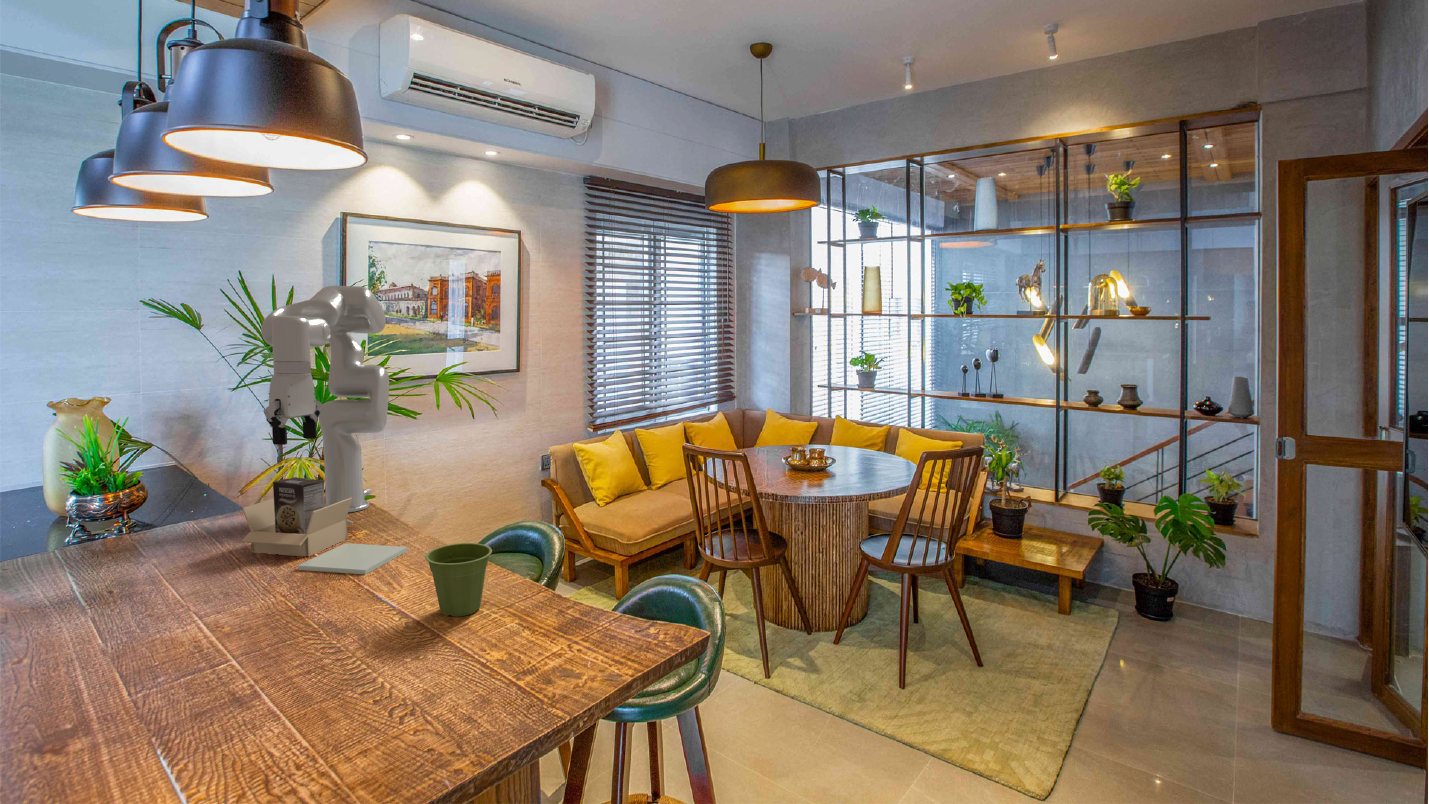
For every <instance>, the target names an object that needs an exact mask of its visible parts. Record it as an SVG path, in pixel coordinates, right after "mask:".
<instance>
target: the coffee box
mask: <svg viewBox="0 0 1429 804" xmlns="http://www.w3.org/2000/svg"><path fill="white" fill-rule="evenodd" d="M324 485H325V484H324V480H323V479H321V480H320V479H314V478H304V477H297V476H295V477H290V478H283V479H280V480H279V479H278V480H276V481H272V486H273V487H272V489H273V490H272V491H273V498H274V512H275V532H276V533H292V534H306V532H307V529H308V525H309V522H310V519H311V515H312V512H313V511H316V510H319V509H321V508H324V504H325V493H324V492H325V491H324V489H325V487H324Z"/></svg>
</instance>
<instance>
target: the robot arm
mask: <svg viewBox="0 0 1429 804" xmlns="http://www.w3.org/2000/svg"><path fill="white" fill-rule="evenodd" d="M386 322H387V321H386V314H385V311H384V309H383V307H382V306H381V303H380V302H379V300H378V298H377V297H376V295H375V294H374V293H373V291H371V290H370V289H369V288H367V287H364V286H359V285H358V286H356V285H355V286H352V285H351V286H350V285H330V286H329V285H328V286H325V287H323V288H321V289H320V290H319V291H318V292H316V294H314V295H313V296H312V297H311V298H310V299H307V300H303V301H299V302H296V303H295V302H294V303H291V304H286V305H283V306H281V307H278V308H276V309H274V310H273V311H271V312H270V313H269V314H267V316H266V317H265V318H264V320H263V322H262V324H261V337H262V338H263V340H264V342H265V343H266V344H267V345H269V346H270V347H271V346H272V363H273V375H271V378H270V381H269V382H270V383H269V391H268V392H269V393H268V406H267V407H265V408H264V409H263V414H264V416H265V418H266V422H268V424H269V428H271V429H272V431H271V433H272V444H273V445H280V446H281V445H282V446H285V445H287V444H288V429H287V427H285V425H286V423H287V422H288V420H289V419H295V418H302V419H303V420H304V421H303V422H302V437H303V438H304V439H308V440H309V439H311V440H313V439H315V440H316V439H317V437H318V433H317V423H319V426H320V430H321V435H322V443H323V444H322V445H323V458H324V459H323V462H324V483H325V484H324V485H325V487H324V489H325V502H324V507H327V506H329V505H332V504H335V503H337V502H340V501H343V500H346V499H348V498H352V502H351V505H350V508H349V511H348V513H354V512H359V511H362V510H365V509H368V508H369V507H370V502H369V500H366V499H365V498H366V497H367V496H370V495H371V494H372V489H370V488H365V489H363V488H364V487H363V462H362V447H361V444H360V443H359V441H358V440H357V439H356V438H355V437H354V435H353V434H375V433H380V432H382V431H384V430H385V428H386V425H387V421H388V409H389V394H390V376H389V374H388V370H387V369H385V367H383V366H382V365H376V364H364V356H365V352H364V349H363V347H362V346H361V344H360V343H359V342H358V341H357V339H355V338H354V337H353V336H352V335H351V334H379V333H381V332H382V331H383V330H384V329H385V326H386ZM327 343H328V344H329V346H330V362H329V363H330V364H329V370H328V371H329V373H328V383H327V386H328V391H329V393H330V394H331V395H332V396H334V397H338V398H369V399H336V400H335V399H334V400H333V399H332V400H329V401H326V402H325V403H323V404H322V402H320V401H319V400H317V399H316V392H315V391H316V390H315V385H314V379H313V376H312V365H311V364H312V362H311V361H312V360H311V348H319V347H323V346H324V345H325V346H326V344H327Z"/></svg>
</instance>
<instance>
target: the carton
mask: <svg viewBox="0 0 1429 804" xmlns="http://www.w3.org/2000/svg"><path fill="white" fill-rule="evenodd" d="M351 502H352V498H348V499H346V500H343V501H340V502H337V503H335V504H332V505H329V506H327V507H324V508H321V509H319V510H316V511H313V512H312V515H311V519H310V522H309V525H308V529H307V532H306V534H292V533H276V532H275V512H274V497H273V498H270V499H267V500H263V501H261V502H260V501H259V502H258V503H254V504H251V505H248V506H247V505H246V506H244V507H242V508H241V509H242V512H243V515H244V517H245V520H246V522H247V525H248V528H249V530H250V531H249V532H248V533H247V534H246V535H245V536H244V538H243V539H242V540H241V543H247V544H250V546H251V547H250V550H251V553H252V554H260V553H270V554H269V555H275V554H279V555H280V556H293V557H295V556H296V557H306V556H309V557H311V556H313V554H314V553H316V554H318V553H320V552H322V551H324V549H325V550H327V549H329V548H331V547H333V546H335V544H336V545H338V544H339V542H340V543H342V542H344V541H346V540H345V539H347V540H348V524H354V520H353V521H352V520H350V519H348V518H347V517H348V511H349V508H350V505H351ZM337 543H338V544H337ZM332 545H333V546H332ZM326 548H327V549H326ZM279 555H278V556H279ZM314 555H315V554H314Z"/></svg>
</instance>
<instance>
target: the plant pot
mask: <svg viewBox="0 0 1429 804" xmlns="http://www.w3.org/2000/svg"><path fill="white" fill-rule="evenodd" d="M492 552H493V549H492V547H490V546H489V545H487V544H482V543H477V542H476V543H475V542H460V543H452V544H446V545H442V546H438V547H435V548H433V549H431V550H429V551H427V553H426V554H425V555H424V559H425V560H426V562H428V564H429V568H430V569H429V570H430V572H431V574H432V578H433V581H434V582H433V583H434V588H435V592H436V597H437V603H438V607H439V611H440V613H441V614H442V615H443V616H453V617H457V618H458V616H460V617H465V616H469V614H470V615H471V614H474V613H476V612H477V610H480V608H481V605H482V599H483V598H482V597H483V591H484V586H485V584H484V583H485V577H486V572H487V571H486V570H487V567H488V566H489V565H488V564H489V557H490V556H491V555H492Z"/></svg>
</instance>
